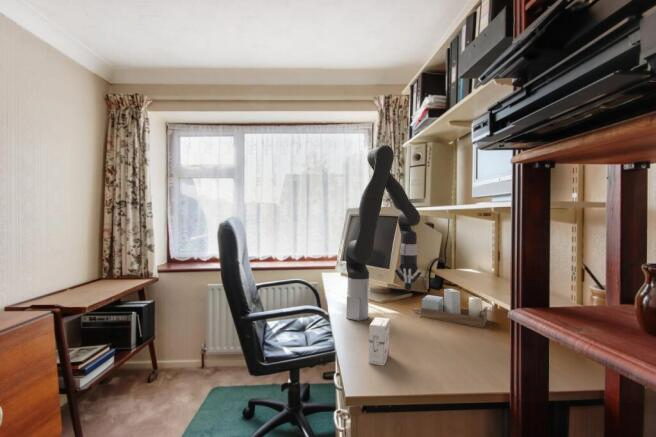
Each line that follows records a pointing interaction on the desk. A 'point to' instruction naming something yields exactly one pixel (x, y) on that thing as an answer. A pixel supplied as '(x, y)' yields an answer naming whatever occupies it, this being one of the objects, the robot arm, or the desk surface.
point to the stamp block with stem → (431, 303)
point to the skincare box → (451, 301)
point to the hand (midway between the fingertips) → (408, 290)
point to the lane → (457, 317)
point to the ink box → (379, 340)
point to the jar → (475, 306)
